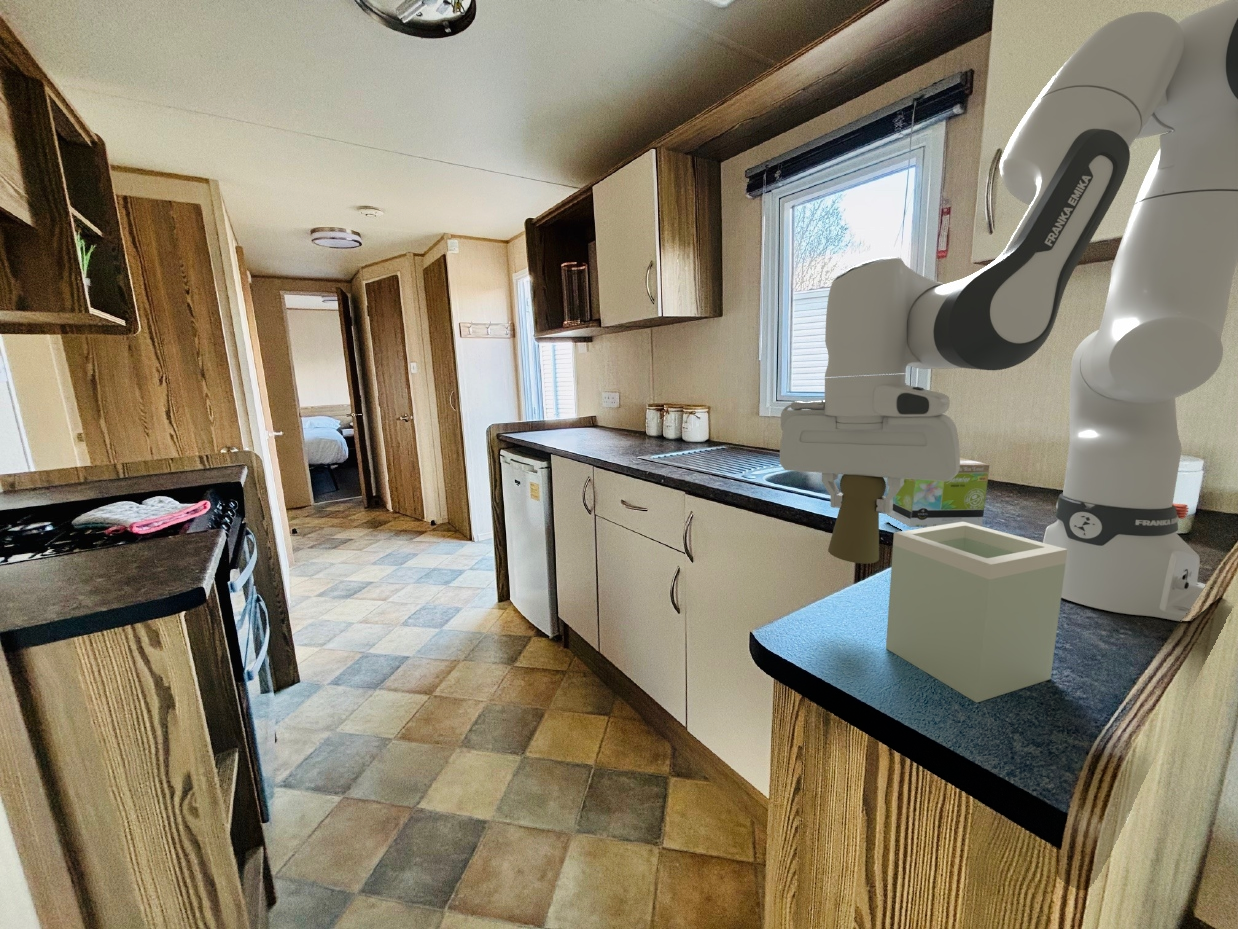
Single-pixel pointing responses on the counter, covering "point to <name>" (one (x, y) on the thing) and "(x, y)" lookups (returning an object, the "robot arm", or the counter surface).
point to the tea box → (943, 498)
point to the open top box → (975, 607)
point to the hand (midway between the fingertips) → (860, 509)
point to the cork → (858, 520)
